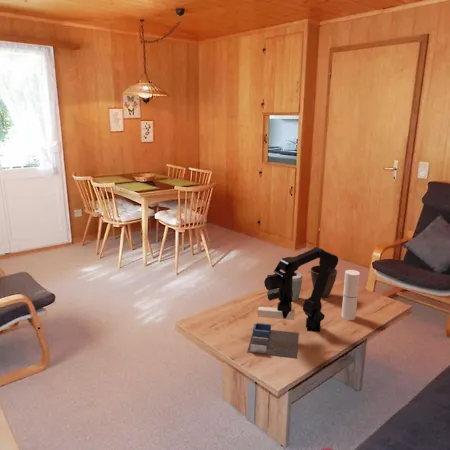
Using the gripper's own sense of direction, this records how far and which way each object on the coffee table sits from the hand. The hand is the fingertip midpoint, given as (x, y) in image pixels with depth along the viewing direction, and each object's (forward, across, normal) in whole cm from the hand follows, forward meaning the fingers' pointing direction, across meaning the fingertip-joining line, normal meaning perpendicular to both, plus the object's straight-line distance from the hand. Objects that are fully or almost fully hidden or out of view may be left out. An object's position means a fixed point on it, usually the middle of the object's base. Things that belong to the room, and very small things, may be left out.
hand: (284, 316), depth 193 cm
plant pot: (+12, -51, +19) cm, 56 cm away
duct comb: (+11, +6, -4) cm, 13 cm away
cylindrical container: (+12, -27, +32) cm, 44 cm away
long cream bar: (+1, 0, -4) cm, 4 cm away
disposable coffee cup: (+12, -44, +2) cm, 45 cm away
